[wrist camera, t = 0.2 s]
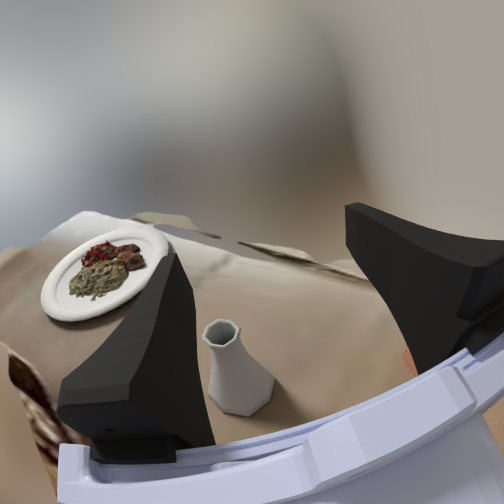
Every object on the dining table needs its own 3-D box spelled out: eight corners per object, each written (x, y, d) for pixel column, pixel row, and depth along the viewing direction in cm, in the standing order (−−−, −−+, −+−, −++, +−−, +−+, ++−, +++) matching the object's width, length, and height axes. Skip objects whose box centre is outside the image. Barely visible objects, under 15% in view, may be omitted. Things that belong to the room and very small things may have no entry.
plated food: (83, 355, 35) (71, 340, 33) (30, 294, 50) (23, 282, 48) (201, 246, 55) (197, 231, 53) (118, 226, 70) (114, 215, 68)
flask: (286, 375, 29) (279, 316, 24) (251, 428, 25) (231, 382, 19) (233, 353, 33) (213, 293, 27) (197, 397, 28) (163, 345, 23)
